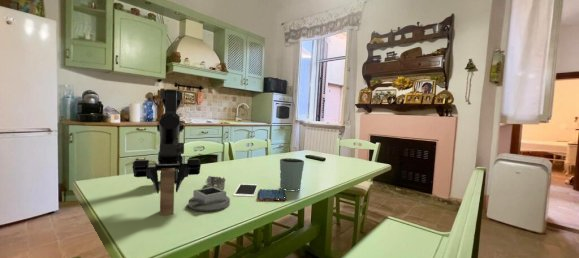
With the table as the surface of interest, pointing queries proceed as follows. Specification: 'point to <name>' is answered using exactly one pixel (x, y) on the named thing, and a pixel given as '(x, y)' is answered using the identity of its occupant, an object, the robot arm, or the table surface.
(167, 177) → the brown wooden square peg
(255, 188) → the cell phone
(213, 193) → the rosette socket
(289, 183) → the grey cup
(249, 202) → the table surface
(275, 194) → the woven mat
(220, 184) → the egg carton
